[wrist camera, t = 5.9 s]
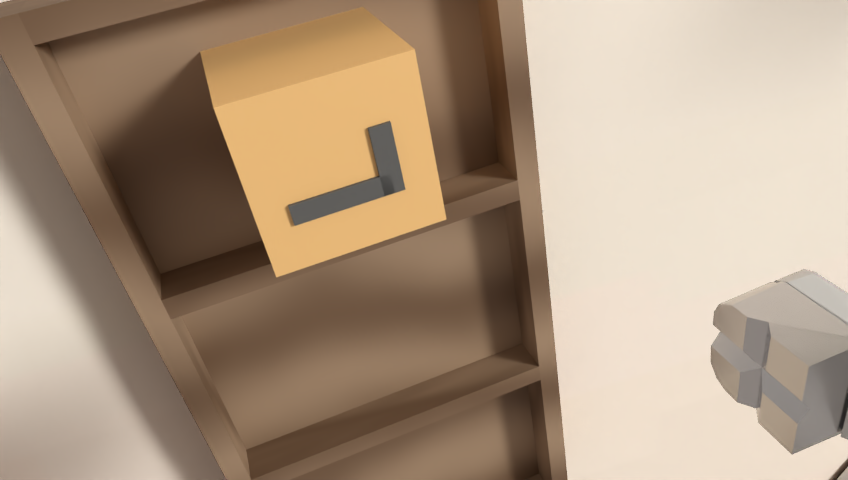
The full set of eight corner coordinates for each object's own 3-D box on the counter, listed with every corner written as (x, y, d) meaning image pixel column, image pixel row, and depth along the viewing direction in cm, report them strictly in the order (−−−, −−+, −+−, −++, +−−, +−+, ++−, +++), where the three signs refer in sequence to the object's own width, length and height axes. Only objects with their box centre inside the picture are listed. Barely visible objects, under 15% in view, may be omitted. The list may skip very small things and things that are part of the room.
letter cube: (395, 152, 24) (447, 220, 20) (253, 197, 23) (277, 279, 19) (363, 6, 21) (416, 50, 17) (199, 51, 20) (213, 109, 16)
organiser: (548, 468, 36) (569, 501, 35) (292, 577, 34) (300, 619, 32) (480, -117, 21) (511, -112, 19) (-2, 3, 18) (-17, 22, 17)
